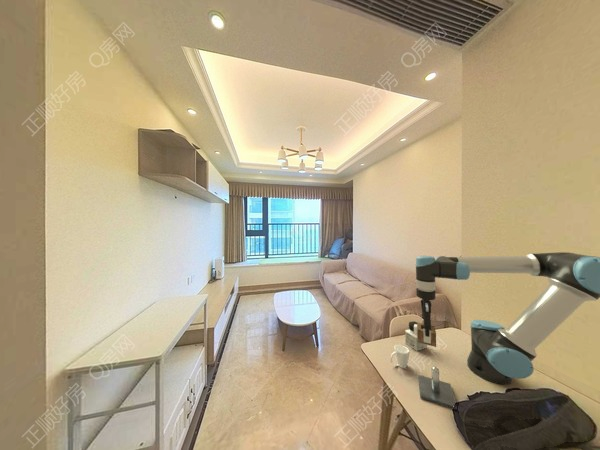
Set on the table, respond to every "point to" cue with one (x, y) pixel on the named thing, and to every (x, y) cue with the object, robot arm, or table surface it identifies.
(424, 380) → the post stand
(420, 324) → the collar
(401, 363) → the cup
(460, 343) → the table surface
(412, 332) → the container
